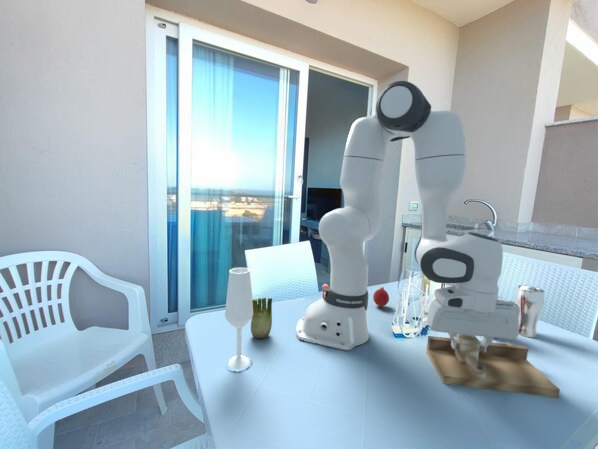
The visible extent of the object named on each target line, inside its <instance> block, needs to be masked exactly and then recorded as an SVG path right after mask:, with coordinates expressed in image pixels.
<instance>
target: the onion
mask: <svg viewBox="0 0 598 449" xmlns="http://www.w3.org/2000/svg"><path fill="white" fill-rule="evenodd" d="M372 300H373V302H374V304H376V305H377V307H379V308H382V307H384V306H386V305H387V304H388V303H389V302H390V296H389V293H388V292H387V291H386V289H385V288H384V286H381V287H379V289H376V291H374V293H373V297H372Z"/></svg>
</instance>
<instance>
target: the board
mask: <svg viewBox="0 0 598 449" xmlns="http://www.w3.org/2000/svg"><path fill="white" fill-rule="evenodd" d="M479 341H480V343H481V341H482V340H479ZM453 352H454V349H453V348H452V347H451V338H450V337H441V336H435V335H427V344H426V355H427V356H428V358H429V359H430V362H431V363H432V365H433V367H434V369H435V371H436V372H437V374H438V376H439V378H440V379H441V381H442V384H444V385H445V384H446V385H453V386H461V387H470V388H475V389H476V388H477V389H484V390H485V389H486V390H493V391H503V392H509V393H517V394H525V395H531V396H532V395H533V396H534V395H536V396H542V397H550V398H558V399H559V397H560V392H561V391H560V390H561V389H560V388H559V387H558V386H557V385H556V384H554V383H553V382H552V381H551V380H550V379H549V378H547V377H546V375H544V374H543V373H542V372H541V371H540V370H539V369H537V367H535V366H534V364H532V363H530V362H529V360H528V353H529V348H528V347H527V346H525V345H523V344H522V345H520V344H519V345H518V344H512V343H510V342H504V343H501V342H500V343H499V342H492V343H491V344H490V345H489V346H488V347H487V349H486V352H479V356H478V361H481V362H483V368H484V369H485V370H486V377H485V379H480V378H475V376H474V375H473V374H472V372H471V371H470V370H469V368H468V367H467V366H466V364H465V363H461V362H460V361H459V360H458V359H457V357H456V356H455V354H454V353H453Z"/></svg>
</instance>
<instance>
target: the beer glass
mask: <svg viewBox="0 0 598 449" xmlns="http://www.w3.org/2000/svg"><path fill="white" fill-rule="evenodd" d="M545 293H546V291H545V290H544V289H542V288H540V287H537V286H531V285H527V284H519V285H517V289H516V292H515V297H514V303H515V304H517V305H518V306H519V308H520V313H519V317H518V319H519V333H518V336H519V335H520V336H523V337H526V338H532V339H534V338H537V336H538V335H537V325H538V321H539V319H540V317H541V314H542V312H543V311H544V310H543V309H544V305H545ZM514 306H516V305H514Z"/></svg>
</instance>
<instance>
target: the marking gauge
mask: <svg viewBox="0 0 598 449" xmlns="http://www.w3.org/2000/svg"><path fill="white" fill-rule="evenodd" d="M454 338H455V340H458V342H459V343H460V349H454V352H453V353H454V354H455V356H456V357H457V359H458V360H459V361H460V362H461V363H465V364H466V366H467V367H468V368H469V370H470V371H471V372H472V374H473V375H474V376H475V378H480V379H485V377H486V370H485V369H484V368H483V362H481V361H478V356H479V349H480V341H481V340H480V339H478V337H477V336H474V335H464V334H457V337H454Z"/></svg>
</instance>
